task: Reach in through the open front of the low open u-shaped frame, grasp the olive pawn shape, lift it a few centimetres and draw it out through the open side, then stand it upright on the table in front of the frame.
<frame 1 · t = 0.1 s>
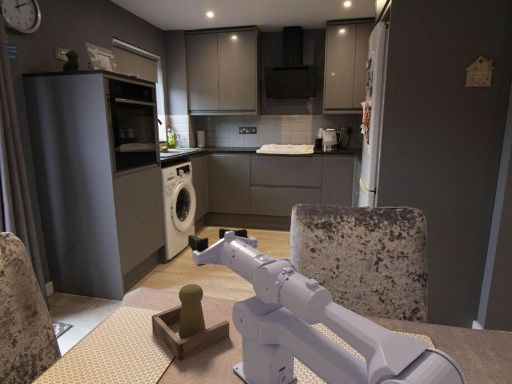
hand: (205, 236, 73), 22 cm above the table, tool horizontal, fingers open, 7 cm apart
open u-shaped frame: (192, 332, 75), on the table
olive pawn shape: (192, 333, 75), on the table
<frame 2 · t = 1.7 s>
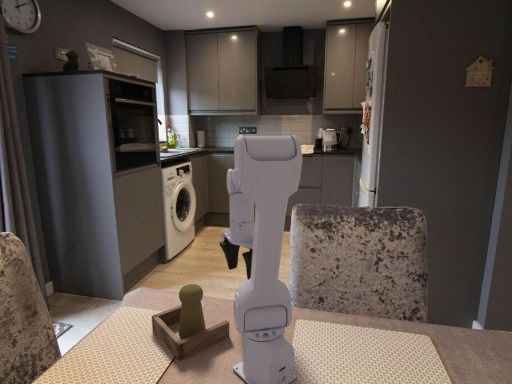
hand: (242, 273, 82), 10 cm above the table, tool pointing down, fingers open, 7 cm apart
nothing on the table moved.
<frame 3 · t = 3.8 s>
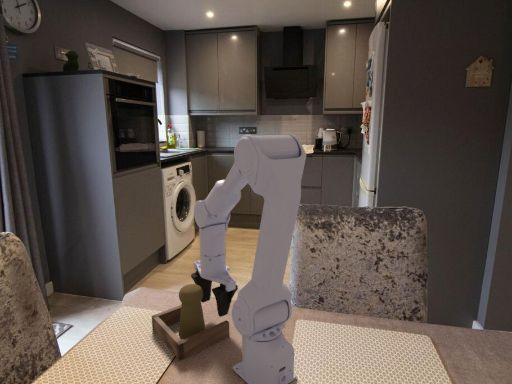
hand: (214, 307, 78), 4 cm above the table, tool pointing down, fingers open, 7 cm apart
nothing on the table moved.
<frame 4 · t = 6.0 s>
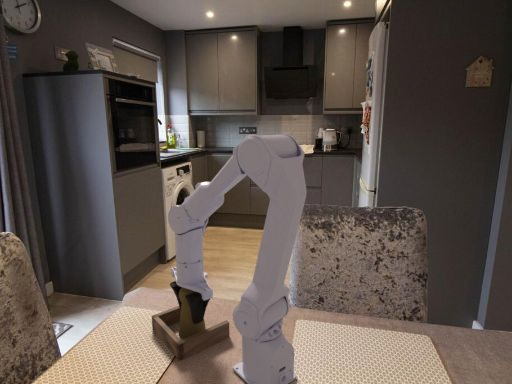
hand: (191, 316, 74), 4 cm above the table, tool pointing down, fingers closed on olive pawn shape, 5 cm apart
olive pawn shape: (192, 333, 75), on the table, touching gripper
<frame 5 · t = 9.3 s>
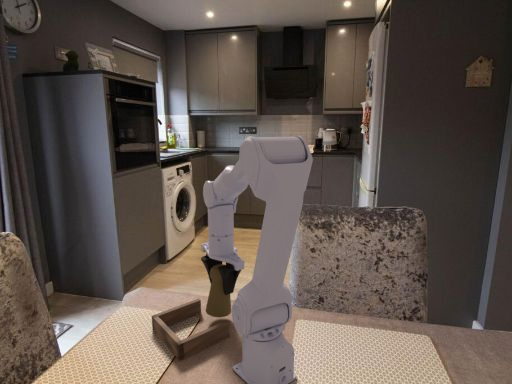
hand: (222, 288, 79), 8 cm above the table, tool pointing down, fingers closed on olive pawn shape, 5 cm apart
olive pawn shape: (218, 311, 79), point 2 cm above the table, touching gripper
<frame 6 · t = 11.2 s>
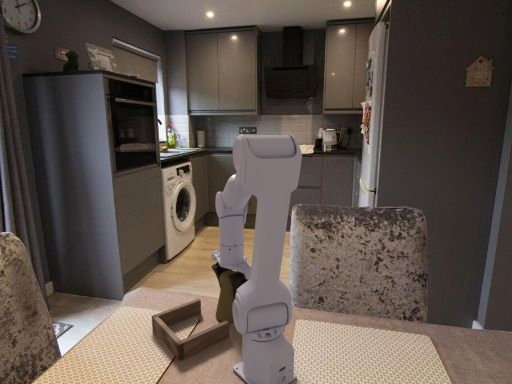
hand: (232, 295, 81), 5 cm above the table, tool pointing down, fingers closed on olive pawn shape, 5 cm apart
olive pawn shape: (228, 315, 81), on the table, touching gripper
when the fingers open (5 cm above the table, at t = 12.8 s): olive pawn shape stays where it is, on the table.
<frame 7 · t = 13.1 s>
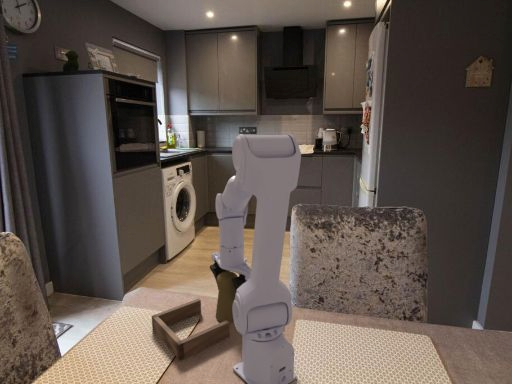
hand: (232, 297, 81), 5 cm above the table, tool pointing down, fingers open, 7 cm apart
olive pawn shape: (228, 316, 82), on the table
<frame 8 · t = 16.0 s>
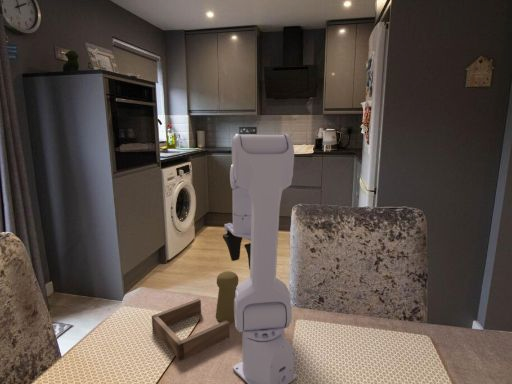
hand: (244, 264, 86), 10 cm above the table, tool pointing down, fingers open, 7 cm apart
nothing on the table moved.
at the end: olive pawn shape inside the target area (1.6 cm from its centre), on the table; olive pawn shape tilted 0°; the gripper is holding nothing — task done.
